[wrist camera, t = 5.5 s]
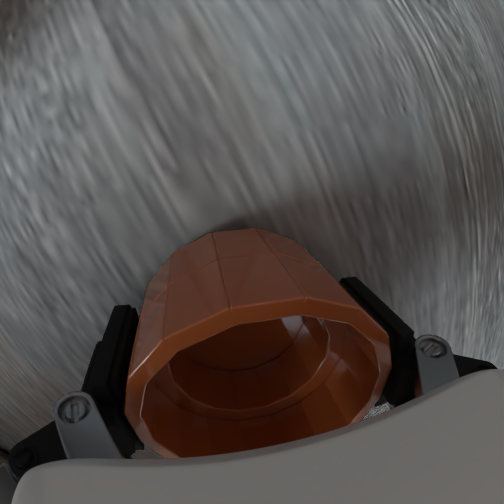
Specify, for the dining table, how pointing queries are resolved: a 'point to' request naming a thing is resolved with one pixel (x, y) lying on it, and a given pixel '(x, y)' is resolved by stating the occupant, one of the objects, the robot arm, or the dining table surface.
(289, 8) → the dining table surface
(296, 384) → the small bowl
